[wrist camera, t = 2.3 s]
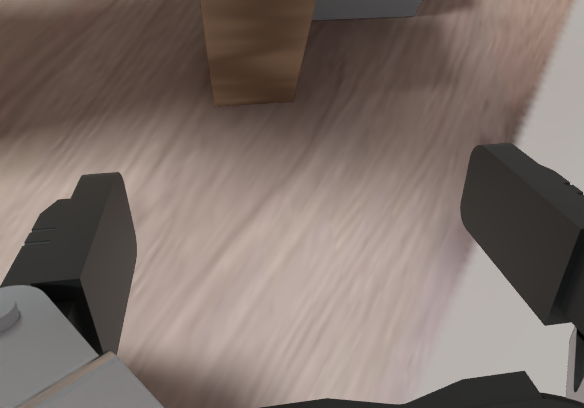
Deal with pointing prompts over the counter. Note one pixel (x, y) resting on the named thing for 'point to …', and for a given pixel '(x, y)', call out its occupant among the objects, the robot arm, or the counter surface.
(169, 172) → the counter surface
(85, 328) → the robot arm
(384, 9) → the base block
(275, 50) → the walnut block
